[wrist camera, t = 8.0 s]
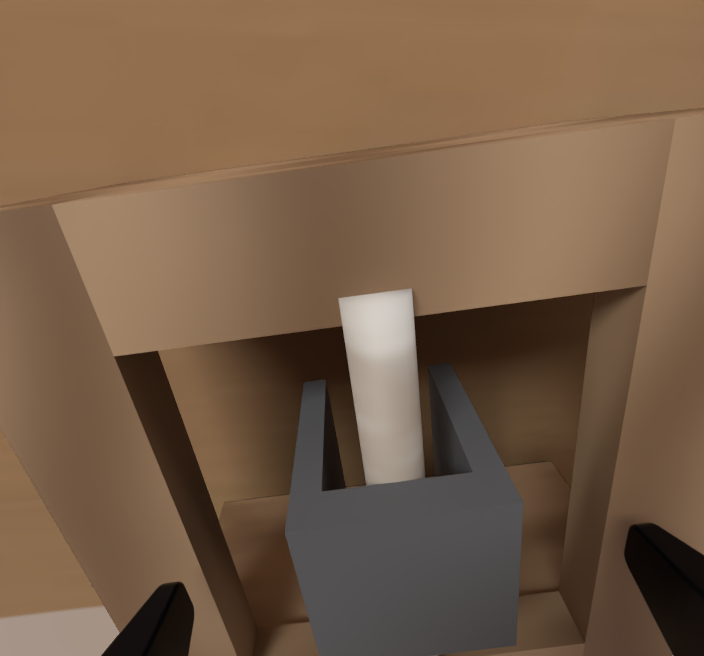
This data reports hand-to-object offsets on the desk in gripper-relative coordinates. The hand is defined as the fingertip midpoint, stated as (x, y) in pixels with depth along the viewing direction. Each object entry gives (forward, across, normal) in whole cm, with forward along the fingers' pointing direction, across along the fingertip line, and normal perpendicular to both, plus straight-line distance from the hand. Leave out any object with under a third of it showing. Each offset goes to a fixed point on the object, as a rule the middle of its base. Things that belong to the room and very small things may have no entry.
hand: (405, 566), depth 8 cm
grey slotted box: (+4, 0, 0) cm, 4 cm away
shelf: (+8, 0, 0) cm, 8 cm away
